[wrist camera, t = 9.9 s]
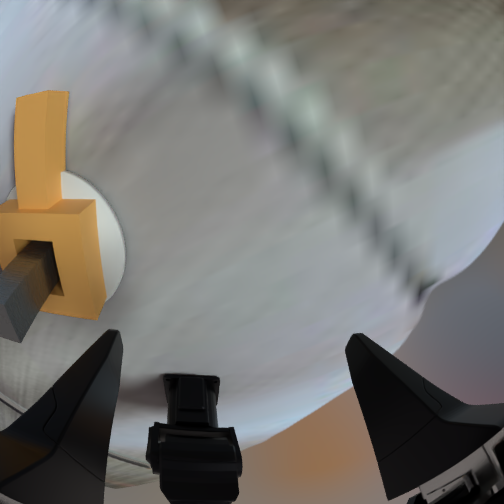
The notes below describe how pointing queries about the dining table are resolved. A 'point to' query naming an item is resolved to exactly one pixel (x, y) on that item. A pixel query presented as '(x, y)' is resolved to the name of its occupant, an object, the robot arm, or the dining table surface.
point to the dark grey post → (26, 288)
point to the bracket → (60, 212)
